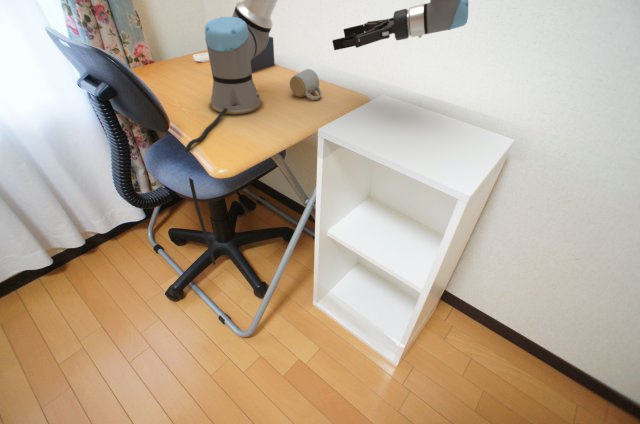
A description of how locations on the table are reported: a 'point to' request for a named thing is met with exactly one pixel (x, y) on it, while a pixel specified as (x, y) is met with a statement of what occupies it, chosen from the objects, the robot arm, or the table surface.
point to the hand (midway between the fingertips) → (339, 39)
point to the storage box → (264, 58)
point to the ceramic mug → (305, 84)
